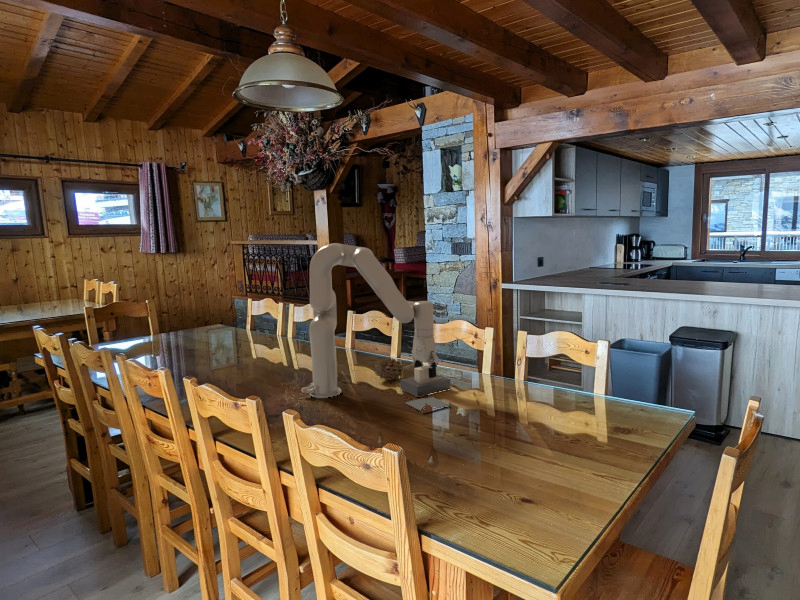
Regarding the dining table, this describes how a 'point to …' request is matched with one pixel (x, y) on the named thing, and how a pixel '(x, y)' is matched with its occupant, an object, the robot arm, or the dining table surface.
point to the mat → (429, 400)
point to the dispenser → (425, 385)
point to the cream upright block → (422, 374)
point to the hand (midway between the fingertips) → (425, 374)
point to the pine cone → (390, 368)
